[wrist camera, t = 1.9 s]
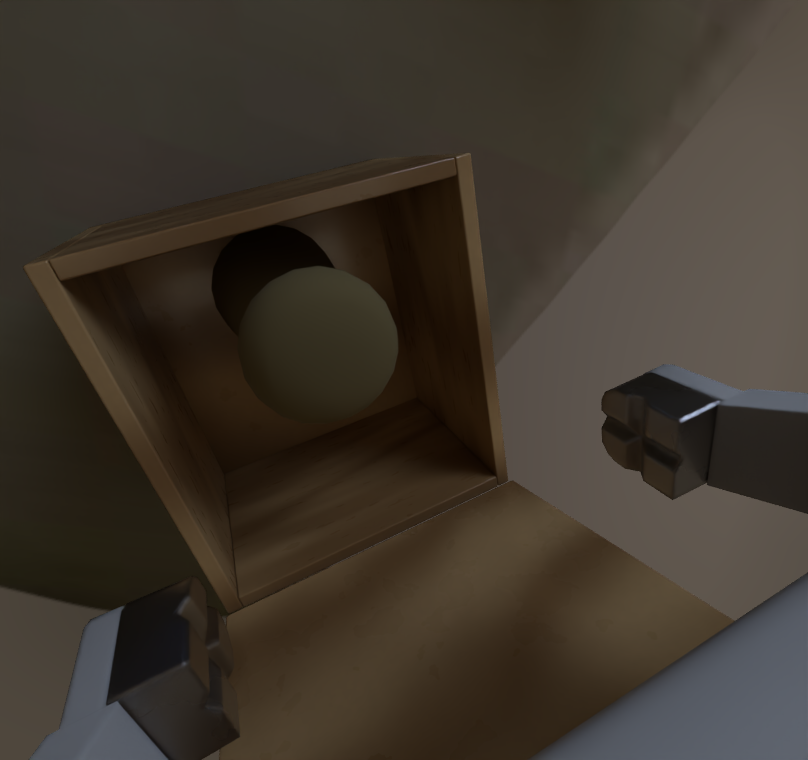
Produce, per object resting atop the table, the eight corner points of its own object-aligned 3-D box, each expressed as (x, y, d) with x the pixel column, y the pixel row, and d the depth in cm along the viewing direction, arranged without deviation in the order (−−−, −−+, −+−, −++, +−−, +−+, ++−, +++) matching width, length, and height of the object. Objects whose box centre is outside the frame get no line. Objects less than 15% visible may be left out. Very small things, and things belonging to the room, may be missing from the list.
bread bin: (89, 227, 20) (20, 266, 12) (373, 158, 23) (471, 152, 15) (216, 480, 27) (228, 614, 19) (422, 398, 30) (508, 481, 22)
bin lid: (168, 1680, 4) (203, 1703, 4) (1019, 797, 7) (1018, 833, 8) (225, 615, 18) (233, 632, 18) (512, 479, 22) (516, 494, 22)
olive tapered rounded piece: (229, 204, 21) (261, 230, 12) (351, 249, 24) (453, 298, 15) (197, 329, 23) (202, 438, 13) (315, 357, 25) (387, 463, 16)
